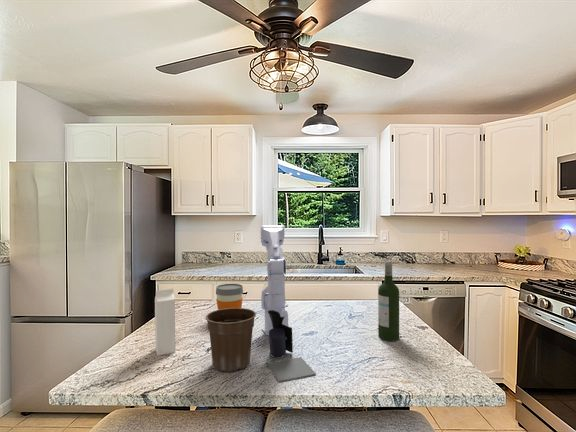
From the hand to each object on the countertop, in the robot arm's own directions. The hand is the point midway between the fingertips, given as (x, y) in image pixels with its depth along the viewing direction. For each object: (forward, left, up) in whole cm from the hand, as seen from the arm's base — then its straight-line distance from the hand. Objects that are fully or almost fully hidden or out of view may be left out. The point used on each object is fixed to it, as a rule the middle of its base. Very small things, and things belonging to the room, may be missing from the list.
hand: (276, 331), depth 114 cm
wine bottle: (-45, +3, -8) cm, 46 cm away
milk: (+37, -16, -8) cm, 41 cm away
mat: (0, +13, -8) cm, 15 cm away
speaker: (0, +2, -7) cm, 8 cm away
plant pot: (+17, +2, -8) cm, 18 cm away
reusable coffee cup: (+9, -43, -8) cm, 44 cm away
